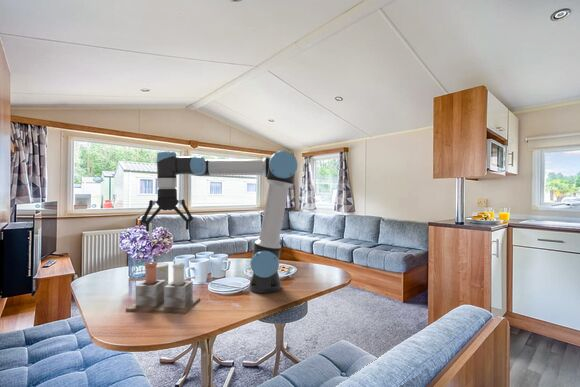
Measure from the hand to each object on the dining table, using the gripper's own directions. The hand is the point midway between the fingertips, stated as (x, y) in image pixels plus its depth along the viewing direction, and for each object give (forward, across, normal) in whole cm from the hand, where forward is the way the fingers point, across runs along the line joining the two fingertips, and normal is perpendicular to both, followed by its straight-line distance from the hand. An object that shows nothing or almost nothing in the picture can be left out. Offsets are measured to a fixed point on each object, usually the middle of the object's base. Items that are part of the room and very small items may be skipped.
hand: (168, 238), depth 122 cm
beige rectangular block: (+27, +6, -15) cm, 31 cm away
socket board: (+27, +1, +5) cm, 27 cm away
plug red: (+20, +7, +2) cm, 21 cm away
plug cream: (+20, -4, +7) cm, 21 cm away
